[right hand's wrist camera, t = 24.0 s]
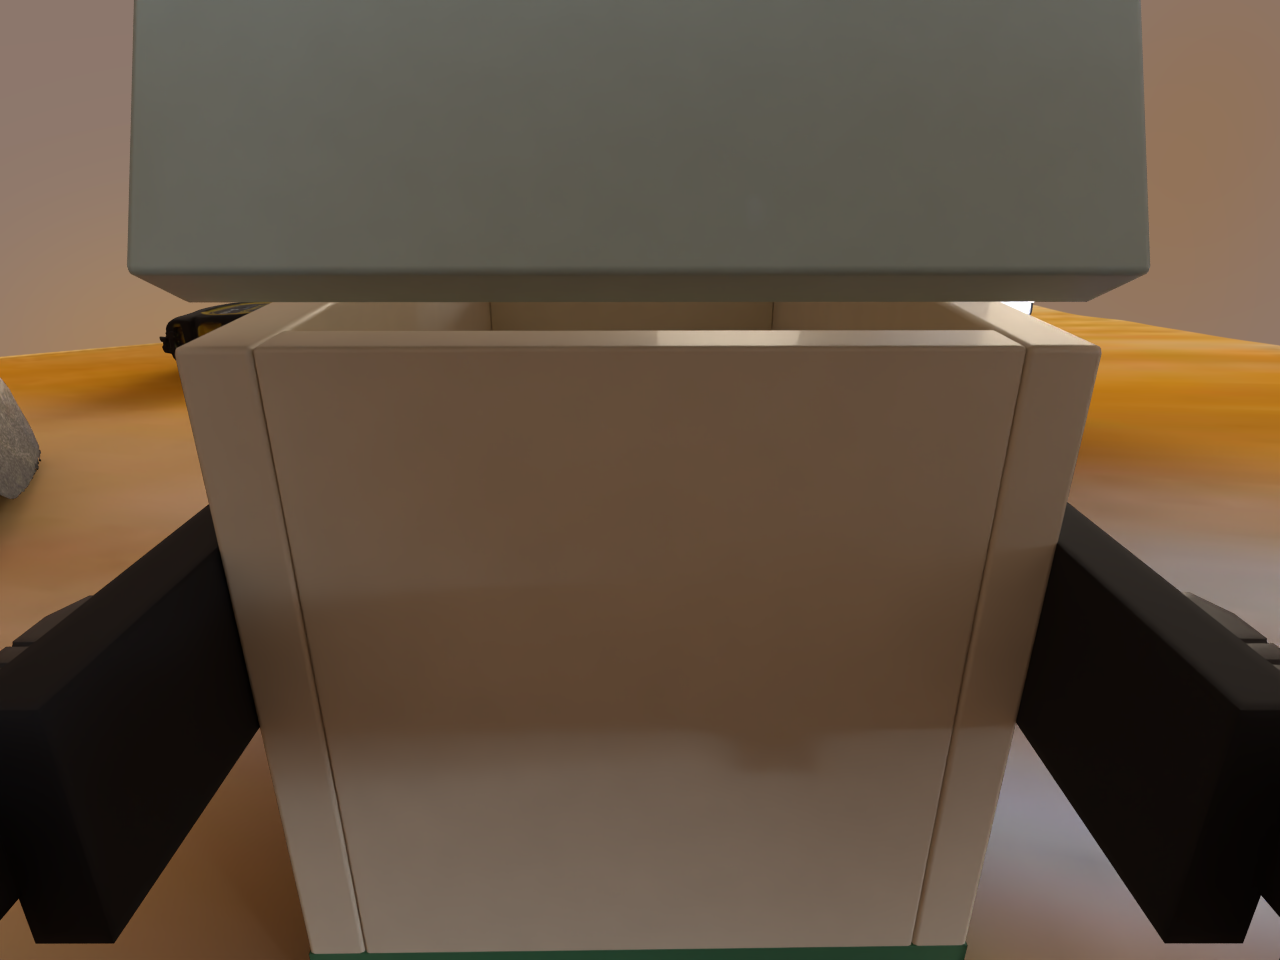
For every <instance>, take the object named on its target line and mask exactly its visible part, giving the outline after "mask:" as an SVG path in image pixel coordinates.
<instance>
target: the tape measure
mask: <svg viewBox="0 0 1280 960" xmlns="http://www.w3.org/2000/svg"><path fill="white" fill-rule="evenodd" d="M270 303H272V302H238V303H230V304H224V305H218V306H213V307H208V308H204V309H201V310H198V311H195V312H193V313H190V314H187V315H183V316H180V317H177V318H174V319H173V320H171V321H170V322H169V323H168V325H167V327H166V337H160V340H161V342H163V346H162V348H163V350H164V352H165V353H171V354H172V356H173V358H174V359H175V360H176V357H175V350H176V348H178V347H180V346H182V345H184V344H186V343H188V342H190V341H193V340H195V339H197V338H199V337H201V336H203V335H205V334H207V333H209V332H211V331H213V330H215V329H218V328H220V327H222V326H224V325H226V324H228V323H230V322H232V321H234V320H236V319H238V318H241V317H243V316H245V315H247V314H249V313H251V312H253V311H255V310H257V309H259V308H261V307H264V306H266V305H268V304H270Z"/></svg>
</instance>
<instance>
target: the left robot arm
mask: <svg viewBox="0 0 1280 960" xmlns="http://www.w3.org/2000/svg"><path fill="white" fill-rule="evenodd" d="M1001 303H1004V304H1006V305H1008V306H1010V307H1013V308H1015V309H1017V310H1019V311H1021V312H1024V313H1026V314H1028V315H1031V313H1032V308H1033V302H1001Z"/></svg>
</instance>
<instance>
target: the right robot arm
mask: <svg viewBox="0 0 1280 960" xmlns="http://www.w3.org/2000/svg"><path fill="white" fill-rule="evenodd" d="M1016 723H1017V725H1018V726H1019V728H1020V729H1021V731H1022V732H1023V734H1024V735H1025V737H1026V738H1027V740H1028V741H1029V742H1030V744H1031V745H1032V747H1033V748H1034V750H1035V751H1036V753H1037V754H1038V756H1039V757H1040V759H1041V760H1042V762H1043V763H1044V765H1045V766H1046V768H1047V769H1048V771H1049V772H1050V774H1051V775H1052V777H1053V778H1054V780H1055V781H1056V783H1057V784H1058V786H1059V787H1060V789H1061V790H1062V792H1063V793H1064V794H1065V796H1066V797H1067V799H1068V800H1069V802H1070V803H1071V805H1072V806H1073V808H1074V809H1075V811H1076V812H1077V814H1078V815H1079V817H1080V818H1081V820H1082V821H1083V823H1084V824H1085V826H1086V827H1087V829H1088V830H1089V832H1090V833H1091V835H1092V836H1093V838H1094V839H1095V841H1096V842H1097V843H1098V845H1099V846H1100V848H1101V849H1102V851H1103V852H1104V854H1105V855H1106V857H1107V858H1108V860H1109V861H1110V863H1111V864H1112V866H1113V867H1114V869H1115V870H1116V872H1117V873H1118V875H1119V876H1120V878H1121V879H1122V881H1123V882H1124V884H1125V885H1126V887H1127V888H1128V890H1129V891H1130V893H1131V894H1132V895H1133V897H1134V898H1135V900H1136V901H1137V903H1138V904H1139V906H1140V907H1141V909H1142V910H1143V912H1144V913H1145V915H1146V916H1147V918H1148V919H1149V921H1150V922H1151V924H1152V925H1153V927H1154V928H1155V930H1156V931H1157V933H1158V934H1159V936H1160V937H1161V939H1162V940H1163V942H1164V943H1243V942H1244V939H1245V936H1246V934H1247V931H1248V928H1249V926H1250V923H1251V920H1252V918H1253V915H1254V912H1255V910H1256V907H1257V904H1258V902H1259V899H1260V896H1262V897H1263V898H1264V899H1265V900H1266V901H1267V903H1268V904H1269V905H1270V906H1271V907H1272V908H1273V910H1274V911H1275V912H1276V913H1277V914H1278V916H1279V917H1280V648H1279V647H1277V646H1276V645H1275V644H1268V643H1267V638H1265V637H1264V636H1263V635H1261V634H1260V633H1259V632H1258V631H1256V630H1255V629H1254V628H1252V627H1251V626H1250V625H1248V624H1247V623H1246V622H1244V621H1243V620H1242V619H1240V618H1239V617H1238V616H1236V615H1235V614H1234V613H1232V612H1229V611H1227V610H1225V609H1223V608H1221V607H1219V606H1217V605H1215V604H1213V603H1211V602H1208V601H1206V600H1204V599H1202V598H1200V597H1198V596H1196V595H1194V594H1192V593H1181V592H1180V591H1179V590H1178V589H1176V588H1175V587H1174V586H1173V585H1171V584H1170V583H1169V582H1167V581H1166V580H1165V579H1164V578H1162V577H1161V576H1160V575H1159V574H1157V573H1156V572H1155V571H1154V570H1152V569H1151V568H1150V567H1148V566H1147V565H1146V564H1145V563H1143V562H1142V561H1141V560H1140V559H1138V558H1137V557H1136V556H1135V555H1133V554H1132V553H1131V552H1130V551H1128V550H1127V549H1126V548H1124V547H1123V546H1122V545H1121V544H1119V543H1118V542H1117V541H1116V540H1114V539H1113V538H1112V537H1111V536H1109V535H1108V534H1107V533H1106V532H1104V531H1103V530H1102V529H1100V528H1099V527H1098V526H1097V525H1095V524H1094V523H1093V522H1092V521H1090V520H1089V519H1088V518H1087V517H1085V516H1084V515H1083V514H1081V513H1080V512H1079V511H1078V510H1076V509H1075V508H1074V507H1073V506H1071V505H1070V504H1069V503H1068V502H1067V504H1066V509H1065V513H1064V517H1063V521H1062V526H1061V530H1060V534H1059V539H1058V543H1057V544H1056V549H1055V553H1054V558H1053V562H1052V566H1051V571H1050V575H1049V579H1048V584H1047V588H1046V592H1045V597H1044V601H1043V606H1042V610H1041V614H1040V619H1039V623H1038V627H1037V632H1036V636H1035V640H1034V645H1033V649H1032V654H1031V658H1030V662H1029V667H1028V671H1027V675H1026V680H1025V684H1024V689H1023V693H1022V697H1021V702H1020V706H1019V710H1018V715H1017V719H1016ZM259 727H260V725H259V720H258V716H257V712H256V707H255V703H254V699H253V694H252V690H251V685H250V681H249V677H248V672H247V668H246V664H245V659H244V655H243V650H242V646H241V642H240V637H239V633H238V629H237V624H236V620H235V615H234V611H233V607H232V602H231V598H230V594H229V589H228V585H227V580H226V576H225V572H224V567H223V563H222V559H221V554H220V550H219V545H218V541H217V537H216V532H215V528H214V523H213V519H212V515H211V510H210V506H209V505H207V506H206V507H205V508H204V509H202V510H201V511H200V512H198V513H197V514H196V515H195V516H193V517H192V518H191V519H190V520H188V521H187V522H186V523H185V524H183V525H182V526H181V527H179V528H178V529H177V530H176V531H174V532H173V533H172V534H171V535H169V536H168V537H167V538H166V539H164V540H163V541H162V542H161V543H159V544H158V545H157V546H155V547H154V548H153V549H152V550H150V551H149V552H148V553H147V554H145V555H144V556H143V557H142V558H140V559H139V560H138V561H136V562H135V563H134V564H133V565H131V566H130V567H129V568H128V569H126V570H125V571H124V572H123V573H121V574H120V575H119V576H118V577H116V578H115V579H114V580H112V581H111V582H110V583H109V584H107V585H106V586H105V587H104V588H102V589H101V590H100V591H99V592H97V593H96V594H95V595H94V596H88V597H86V598H84V599H81V600H79V601H77V602H75V603H73V604H71V605H69V606H67V607H65V608H63V609H61V610H59V611H56V612H54V613H52V614H50V615H48V616H46V617H45V618H43V619H42V620H41V621H39V622H38V623H37V624H35V625H34V626H33V627H31V628H30V629H29V630H27V631H26V632H25V633H24V634H22V635H21V636H20V637H18V638H17V639H16V640H14V641H13V645H12V647H5V648H4V649H3V650H1V651H0V920H1V919H2V918H3V916H4V915H5V914H6V913H7V912H8V911H9V909H10V908H11V907H12V906H13V905H14V903H15V902H16V901H17V900H18V899H19V900H20V903H21V906H22V908H23V911H24V914H25V916H26V919H27V922H28V924H29V927H30V930H31V932H32V935H33V938H34V940H35V943H36V944H58V943H115V941H116V940H117V938H118V937H119V935H120V934H121V932H122V931H123V929H124V928H125V926H126V925H127V923H128V922H129V920H130V919H131V917H132V916H133V914H134V913H135V912H136V910H137V909H138V907H139V906H140V904H141V903H142V901H143V900H144V898H145V897H146V895H147V894H148V892H149V891H150V889H151V888H152V886H153V885H154V883H155V882H156V880H157V879H158V877H159V876H160V874H161V873H162V871H163V870H164V868H165V867H166V865H167V864H168V862H169V861H170V860H171V858H172V857H173V855H174V854H175V852H176V851H177V849H178V848H179V846H180V845H181V843H182V842H183V840H184V839H185V837H186V836H187V834H188V833H189V831H190V830H191V828H192V827H193V825H194V824H195V822H196V821H197V819H198V818H199V816H200V815H201V813H202V812H203V811H204V809H205V808H206V806H207V805H208V803H209V802H210V800H211V799H212V797H213V796H214V794H215V793H216V791H217V790H218V788H219V787H220V785H221V784H222V782H223V781H224V779H225V778H226V776H227V775H228V773H229V772H230V770H231V769H232V767H233V766H234V764H235V763H236V761H237V760H238V759H239V757H240V756H241V754H242V753H243V751H244V750H245V748H246V747H247V745H248V744H249V742H250V741H251V739H252V738H253V736H254V735H255V733H256V732H257V730H258V729H259ZM1279 960H1280V959H1279Z"/></svg>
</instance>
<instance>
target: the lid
mask: <svg viewBox="0 0 1280 960" xmlns="http://www.w3.org/2000/svg"><path fill="white" fill-rule="evenodd" d="M127 267H128V270H129V272H130V273H131V274H132V275H134V276H136V277H138V278H140V279H142V280H144V281H146V282H148V283H150V284H152V285H154V286H157V287H159V288H161V289H163V290H165V291H167V292H169V293H171V294H173V295H175V296H177V297H179V298H181V299H183V300H185V301H188V302H1087V301H1089V300H1092V299H1094V298H1096V297H1098V296H1100V295H1102V294H1105V293H1107V292H1109V291H1111V290H1113V289H1115V288H1117V287H1119V286H1121V285H1124V284H1126V283H1128V282H1130V281H1132V280H1134V279H1136V278H1138V277H1141V276H1143V275H1145V274H1147V272H1148V271H1149V268H1150V250H1149V222H1148V194H1147V166H1146V138H1145V111H1144V83H1143V54H1142V26H1141V0H134V25H133V62H132V101H131V139H130V179H129V217H128V256H127Z"/></svg>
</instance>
